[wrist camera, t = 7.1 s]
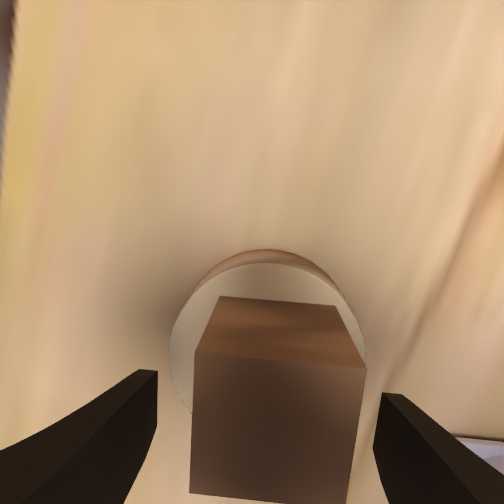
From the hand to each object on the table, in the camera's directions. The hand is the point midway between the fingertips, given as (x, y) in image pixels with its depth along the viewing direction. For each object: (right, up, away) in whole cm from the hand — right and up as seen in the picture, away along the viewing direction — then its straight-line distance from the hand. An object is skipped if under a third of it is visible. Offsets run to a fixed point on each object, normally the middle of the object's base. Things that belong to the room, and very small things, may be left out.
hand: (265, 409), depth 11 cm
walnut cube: (0, +1, +3) cm, 3 cm away
